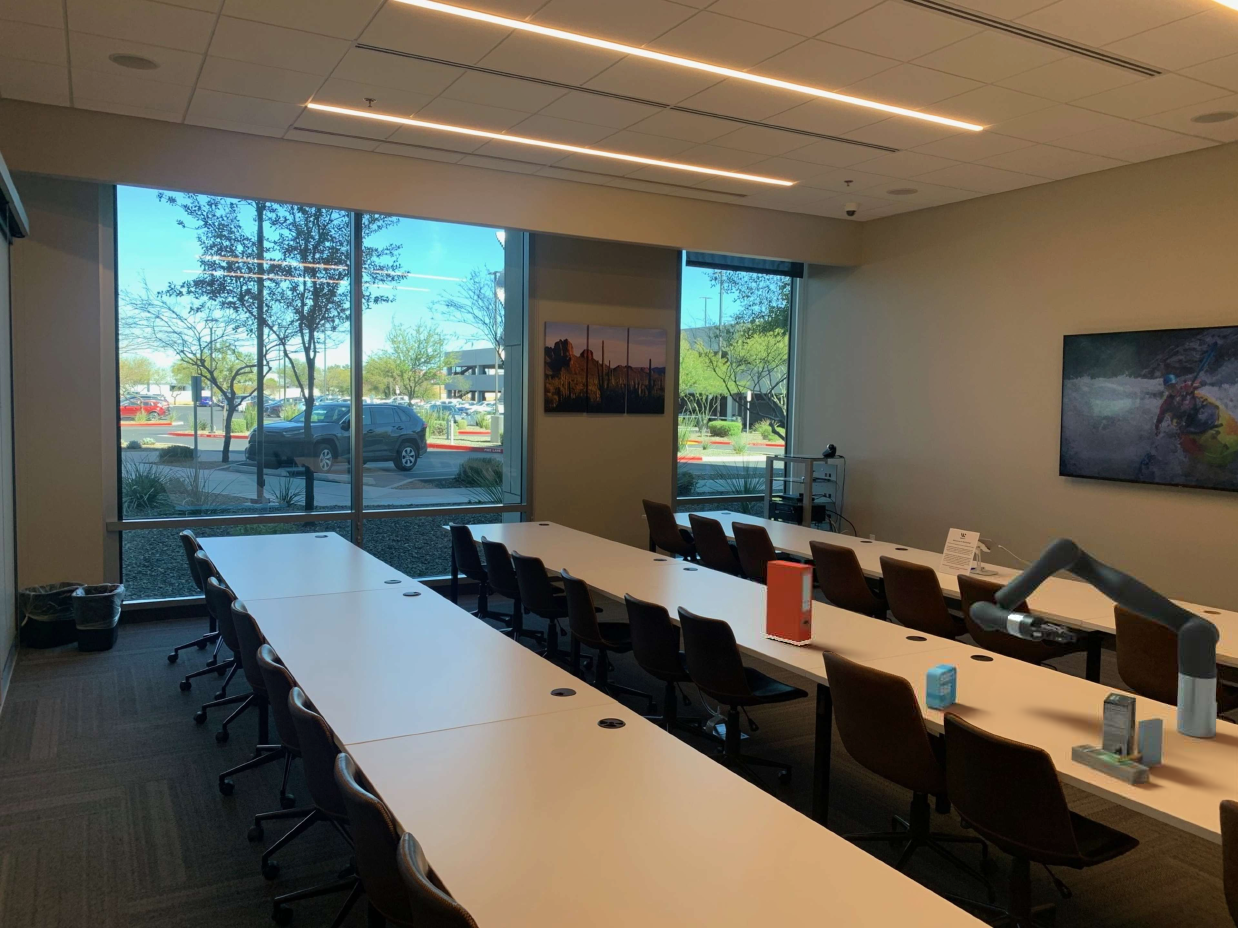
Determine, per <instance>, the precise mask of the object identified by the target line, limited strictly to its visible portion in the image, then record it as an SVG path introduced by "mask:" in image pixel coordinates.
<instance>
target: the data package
mask: <svg viewBox="0 0 1238 928" xmlns="http://www.w3.org/2000/svg"><path fill="white" fill-rule="evenodd" d="M957 670H958V669H957V667H956V666H952V665H949V664H943V663H941V664H939V665H937V666H934V667H932V668H929V669H928V670H927V671H926V675H925V676H926V677H925V679H926V680H925V681H926V683H925V684H926V685H925V705H926V707H928V708H931V707H932V709H935V708H937V709H936V710H939V709H941V708H943V709H945V708H947V707H949V706H951V705H953V704H955V703H954V702H956V699H957V675H958V673H957ZM952 703H953V704H952ZM950 704H951V705H950ZM948 705H949V706H948ZM946 706H947V707H946ZM944 707H945V708H944ZM941 710H942V709H941Z"/></svg>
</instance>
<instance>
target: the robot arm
mask: <svg viewBox="0 0 1238 928" xmlns="http://www.w3.org/2000/svg"><path fill="white" fill-rule="evenodd" d="M1061 570H1063V571H1066V572H1068V573H1070V574H1072V575H1074V576H1076V577H1078V578H1080V579H1082V580H1084V581H1086V582H1087V583H1088V584H1090V585H1091V586H1093V587H1094V588H1096V590H1097V591H1099V592H1100V593H1101V594H1102V595H1105V596H1106V597H1107V598H1108V599H1110V600H1111V601H1113V602H1114V603H1117V604H1118V605H1119V606H1121V607H1122V608H1123V609H1126V610H1127V611H1129V612H1132V613H1134V614H1135V615H1138V616H1140V617H1144V618H1146V619H1148V620H1152V621H1154V622H1157V623H1159V624H1161V625H1163V626H1165V627H1166V628H1168V629H1170V631H1173V632H1174V633H1175V634H1177V635H1178V637H1177V663H1178V683H1177V685H1178V687H1177V706H1176V708H1177V713H1176V730H1177V731H1178V732H1179V733H1181V734H1183V735H1186V736H1191V737H1194V738H1203V739H1204V738H1205V739H1206V738H1212V737H1214V736H1215V734H1216V733H1217V714H1218V713H1217V712H1218V702H1217V701H1216V698H1217V697H1216V692H1217V671H1218V669H1217V665H1216V658H1217V657H1216V654H1217V653H1216V651H1217V650H1216V649H1217V644H1218V643H1219V642H1220V637H1221V636H1220V631H1219V628H1218V627H1217V626H1216V624H1214V623H1213V622H1212V621H1211V620H1208V619H1207V618H1205V617H1202V616H1200V615H1198V614H1196V613H1194V612H1192V611H1189V610H1188V609H1185V608H1183V607H1181V606H1179V605H1178V604H1176V603H1174V602H1173V601H1171V600H1170V599H1169V598H1167V597H1165V596H1164V595H1162V594H1161V593H1159V592H1158V591H1156V590H1154V589H1153V588H1151V587H1149V586H1148V585H1147V584H1145V583H1144V582H1142V581H1140V580H1139V579H1136V578H1135V577H1133V576H1131V575H1130V574H1128V573H1126V572H1124V571H1121V570H1119V569H1117V568H1115V567H1112V566H1110V565H1107V564H1105V563H1103V562H1101V561H1099V560H1098V559H1096V558H1095V557H1093V556H1091V555H1090V554H1088V552H1086V551H1085V550H1083V549H1082V548H1081V547H1079V545H1078V544H1077V543H1076V542H1075V541H1073V540H1072V539H1070V538H1066V537H1063V538H1057V539H1055V540H1053V541H1052V542H1051V543H1050V544H1049V546H1047V548H1046V549H1045V550H1044V551H1043V553H1041V555H1039V556H1038V558H1037V559H1036V560H1034V562H1033V563H1031V564H1030V565H1029V566H1028V567H1027V568H1026V569H1025V570H1024V571H1022V572H1021V573H1020V574H1018V575H1017V576H1016V577H1015V578H1013V579H1012V580H1011V581H1009V582H1008V583H1007V584H1006V585H1004V586H1003V587H1002V588H1001V589H1000V590H998V591H997V592H996V593H995V594H994V599H995V601H996V602H997V604H993V603H991V602H988V601H983V600H982V601H977V602H975V603H973V604H972V605H971V606H970V608H969V615H970V617H971V618H972V620H973V621H974V622H975V623H977V624H978V625H979V626H980V627H981V628H982V629H983V630H985V631H988V632H990V631H991V632H992V631H995V630H997V629H998V630H999V631H1001V632H1002V633H1007V634H1010V635H1013V636H1017V637H1019V638H1022V639H1026V640H1029V641H1030V640H1031V641H1033V642H1039V641H1041V640H1051V641H1056V640H1059V641H1067V642H1072V643H1073V642H1076V641H1077V634H1076V633H1073V632H1070V630H1069V628H1068V627H1067V626H1066V625H1060V626H1058V625H1057V626H1056V625H1054V624H1052V623H1047V622H1046V620H1045V619H1044V618H1043V617H1042V616H1037V615H1033V614H1029V613H1024V612H1018V611H1014V609H1015V608H1017V607H1018V606H1019V605H1021V603H1023V602H1024V601H1025V600H1027V599H1028V598H1029V597H1031V595H1032V594H1033V593H1034V592H1035V591H1036V590H1037V589H1038V588H1039V587H1040V586H1041V585H1042V584H1043V583H1044V582H1045V581H1046V580H1048V578H1050V577H1051V576H1053V575H1054V574H1056V573H1057V572H1059V571H1061Z"/></svg>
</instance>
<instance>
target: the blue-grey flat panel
mask: <svg viewBox="0 0 1238 928" xmlns="http://www.w3.org/2000/svg"><path fill="white" fill-rule="evenodd" d="M1163 720H1164V719H1161V718H1158V717H1155V718H1151V719H1150V718H1149V719H1145V720H1144V719H1143V720H1139V721H1138V730H1137V731H1138V732H1137V734H1138V735H1137V752H1136V753H1134V755H1129V756H1124V757H1119V758H1115V760H1116V761H1121V760H1126V759H1130V760H1131V759H1136V758H1137V759H1136V760H1137V761H1136V763H1137V764H1140V765H1142V766H1145V767H1147V768H1152V767H1156V766H1161V765H1162V751H1163V749H1162V748H1163V747H1162V746H1163V725H1164V724H1163V722H1164V721H1163Z"/></svg>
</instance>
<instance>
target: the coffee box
mask: <svg viewBox="0 0 1238 928" xmlns="http://www.w3.org/2000/svg"><path fill="white" fill-rule="evenodd" d="M1102 705H1103V706H1102V707H1103V708H1102V709H1103V710H1102V712H1103V713H1102V738H1101V742H1102V743H1101V749H1102V750H1105V751H1107V752H1110V753H1112V754H1115V755H1117V756H1120V757H1124V756H1129V755H1134V754H1135V749H1136V748H1135V745H1136V744H1135V742H1136V717H1137V716H1136V712H1137V711H1136V710H1137V709H1136V708H1137V697H1135V696H1129V695H1126V694H1120V693H1114V692H1110V693H1109V694H1108V695H1107V697H1105V699H1104V700H1103V703H1102ZM1128 760H1130V761H1131V759H1128Z"/></svg>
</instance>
